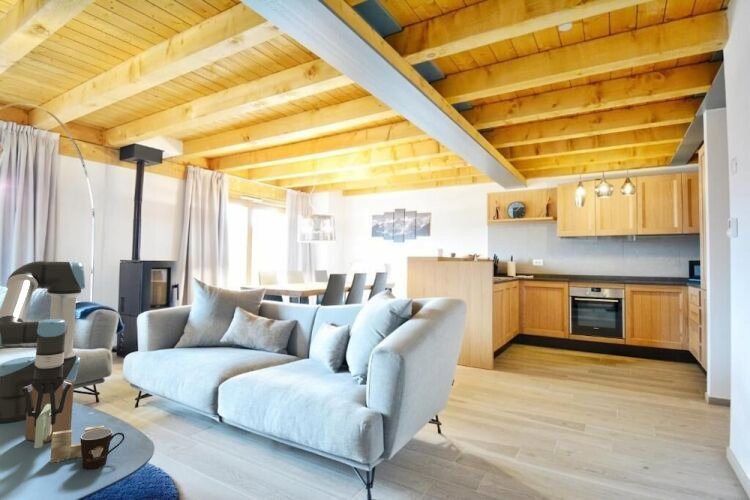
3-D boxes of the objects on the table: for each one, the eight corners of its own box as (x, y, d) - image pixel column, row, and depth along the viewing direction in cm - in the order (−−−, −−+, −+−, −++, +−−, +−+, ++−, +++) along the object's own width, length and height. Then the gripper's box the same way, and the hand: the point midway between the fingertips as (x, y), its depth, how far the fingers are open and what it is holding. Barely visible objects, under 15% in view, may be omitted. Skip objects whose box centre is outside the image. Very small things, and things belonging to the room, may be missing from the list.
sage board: (44, 430, 138) (46, 404, 138) (51, 429, 139) (52, 403, 139) (34, 448, 126) (36, 419, 126) (41, 446, 127) (43, 418, 127)
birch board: (49, 463, 129) (51, 435, 129) (52, 458, 132) (54, 430, 132) (101, 455, 135) (103, 428, 136) (102, 449, 139) (104, 424, 139)
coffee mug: (73, 473, 124) (75, 440, 124) (84, 459, 132) (86, 429, 132) (115, 469, 127) (117, 437, 127) (124, 456, 135) (126, 426, 136)
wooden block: (45, 443, 141) (49, 387, 142) (23, 440, 143) (27, 384, 144) (71, 432, 151) (75, 379, 152) (50, 429, 153) (54, 377, 154)
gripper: (17, 370, 127) (12, 443, 127) (74, 366, 135) (69, 435, 134) (23, 364, 134) (18, 433, 133) (78, 360, 141) (73, 426, 141)
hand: (44, 434), depth 134 cm, fingers closed on sage board, 2 cm apart
